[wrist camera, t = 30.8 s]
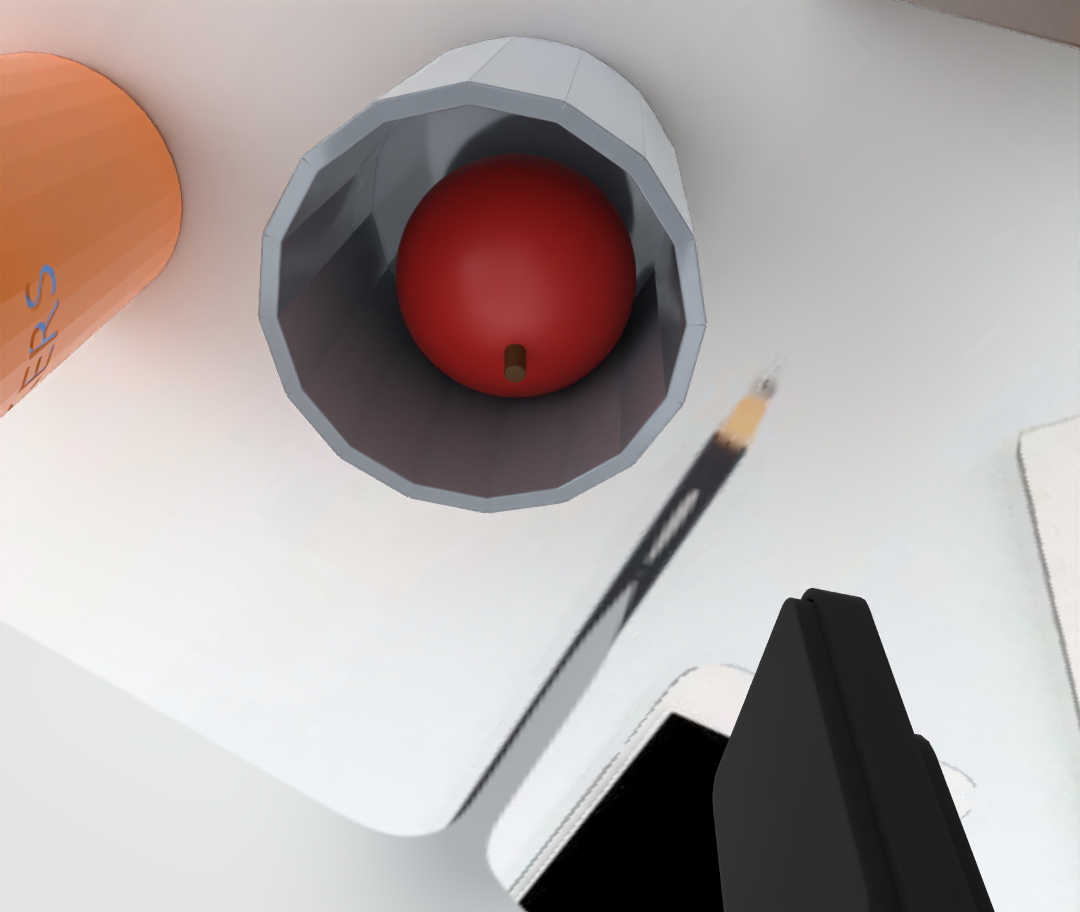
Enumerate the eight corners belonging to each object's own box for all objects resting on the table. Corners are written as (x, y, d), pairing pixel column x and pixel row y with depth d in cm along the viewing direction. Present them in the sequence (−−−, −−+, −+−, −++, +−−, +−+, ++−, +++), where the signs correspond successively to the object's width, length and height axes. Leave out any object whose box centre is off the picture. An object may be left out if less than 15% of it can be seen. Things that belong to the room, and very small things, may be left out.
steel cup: (382, 4, 25) (270, 38, 17) (717, 75, 25) (759, 142, 17) (351, 321, 29) (250, 466, 21) (638, 380, 29) (643, 546, 21)
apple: (416, 91, 24) (388, 239, 19) (651, 130, 25) (682, 282, 20) (398, 290, 28) (372, 454, 23) (600, 318, 29) (615, 483, 24)
